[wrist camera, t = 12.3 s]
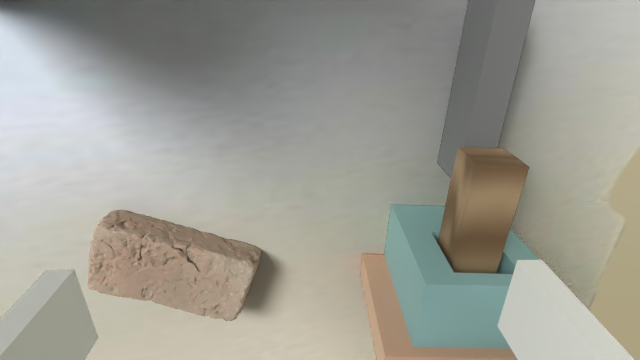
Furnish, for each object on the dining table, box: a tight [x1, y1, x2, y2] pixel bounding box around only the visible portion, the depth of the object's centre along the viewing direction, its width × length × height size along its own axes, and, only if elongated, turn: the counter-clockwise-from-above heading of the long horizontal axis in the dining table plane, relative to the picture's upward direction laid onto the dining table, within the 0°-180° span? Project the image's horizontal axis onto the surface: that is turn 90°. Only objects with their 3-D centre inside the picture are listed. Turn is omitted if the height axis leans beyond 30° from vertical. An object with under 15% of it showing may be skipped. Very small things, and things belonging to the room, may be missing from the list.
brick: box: [88, 210, 261, 321], centre depth 40 cm, size 17×8×5 cm, turn 71°
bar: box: [438, 147, 529, 274], centre depth 32 cm, size 13×4×4 cm, turn 177°
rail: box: [437, 0, 535, 178], centre depth 32 cm, size 16×3×6 cm, turn 177°
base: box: [360, 254, 518, 360], centre depth 37 cm, size 3×16×14 cm, turn 87°
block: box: [384, 204, 540, 349], centre depth 35 cm, size 6×11×13 cm, turn 87°
